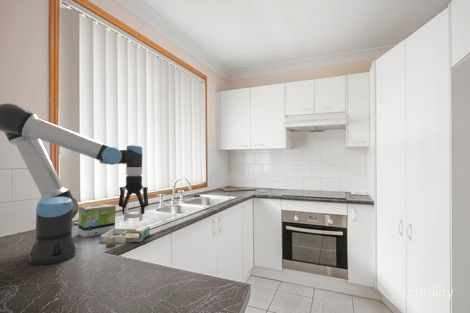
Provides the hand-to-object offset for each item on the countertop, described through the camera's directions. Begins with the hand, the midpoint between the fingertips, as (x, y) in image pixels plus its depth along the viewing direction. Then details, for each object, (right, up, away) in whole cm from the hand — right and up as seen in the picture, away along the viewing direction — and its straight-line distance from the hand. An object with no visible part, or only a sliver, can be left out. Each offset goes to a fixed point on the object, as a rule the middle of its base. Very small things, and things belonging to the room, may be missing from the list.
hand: (133, 220), depth 122 cm
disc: (0, +2, 0) cm, 2 cm away
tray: (0, -9, 0) cm, 9 cm away
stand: (-6, -9, -11) cm, 15 cm away
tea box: (-23, -9, +7) cm, 26 cm away
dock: (-6, -9, 0) cm, 11 cm away
